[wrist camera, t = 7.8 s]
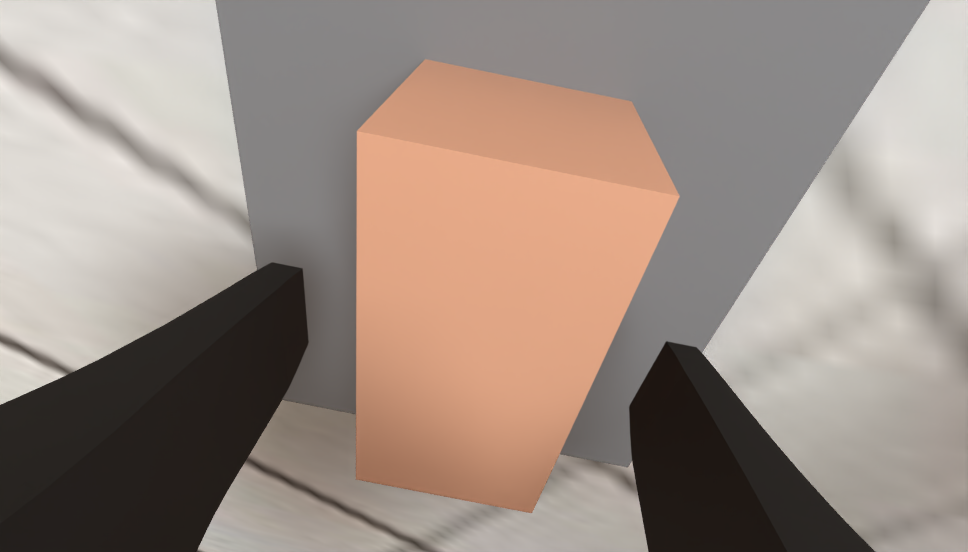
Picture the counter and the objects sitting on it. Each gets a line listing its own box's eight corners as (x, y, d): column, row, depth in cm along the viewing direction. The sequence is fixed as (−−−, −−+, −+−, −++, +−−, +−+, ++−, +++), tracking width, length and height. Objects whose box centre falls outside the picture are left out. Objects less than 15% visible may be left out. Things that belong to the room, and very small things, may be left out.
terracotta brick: (425, 59, 9) (357, 131, 6) (631, 101, 9) (680, 196, 6) (400, 350, 14) (356, 479, 10) (534, 377, 14) (531, 513, 10)
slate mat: (904, -13, 8) (935, -9, 7) (624, 446, 16) (627, 467, 16) (218, -160, 8) (190, -168, 7) (287, 380, 16) (276, 398, 16)
